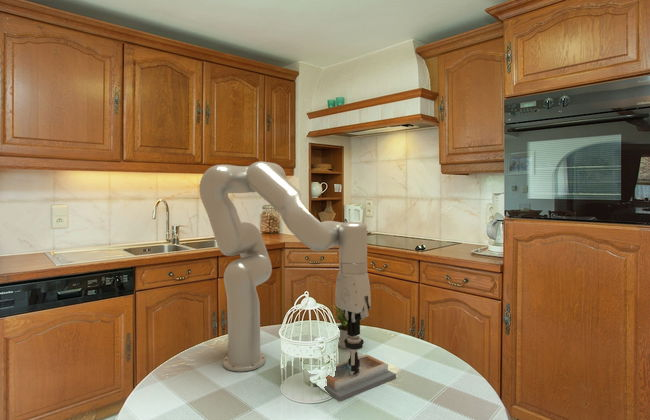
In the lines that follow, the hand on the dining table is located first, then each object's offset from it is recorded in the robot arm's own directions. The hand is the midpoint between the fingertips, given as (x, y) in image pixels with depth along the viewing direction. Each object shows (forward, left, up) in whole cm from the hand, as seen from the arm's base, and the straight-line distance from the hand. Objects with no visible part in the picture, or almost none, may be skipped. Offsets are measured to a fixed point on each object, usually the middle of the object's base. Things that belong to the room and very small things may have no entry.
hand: (353, 334), depth 108 cm
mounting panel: (0, 0, -13) cm, 13 cm away
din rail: (0, 0, -11) cm, 11 cm away
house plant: (-18, +14, -13) cm, 26 cm away
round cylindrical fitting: (0, 0, -11) cm, 11 cm away
